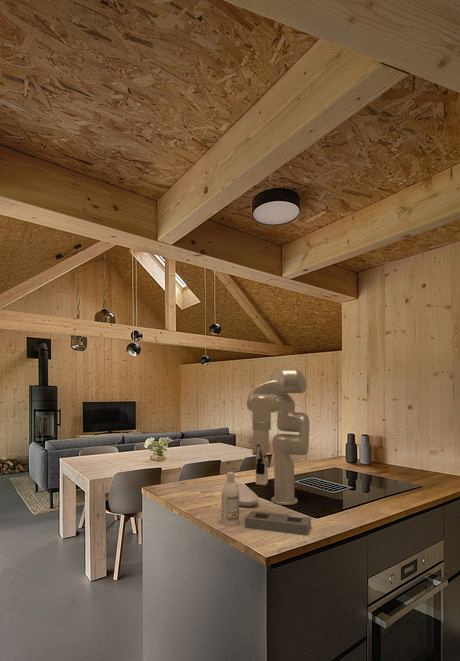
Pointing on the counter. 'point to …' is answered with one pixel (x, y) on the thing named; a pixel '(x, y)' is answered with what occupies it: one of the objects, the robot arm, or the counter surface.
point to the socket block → (278, 522)
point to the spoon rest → (246, 496)
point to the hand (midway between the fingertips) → (261, 472)
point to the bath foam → (230, 502)
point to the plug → (263, 478)
